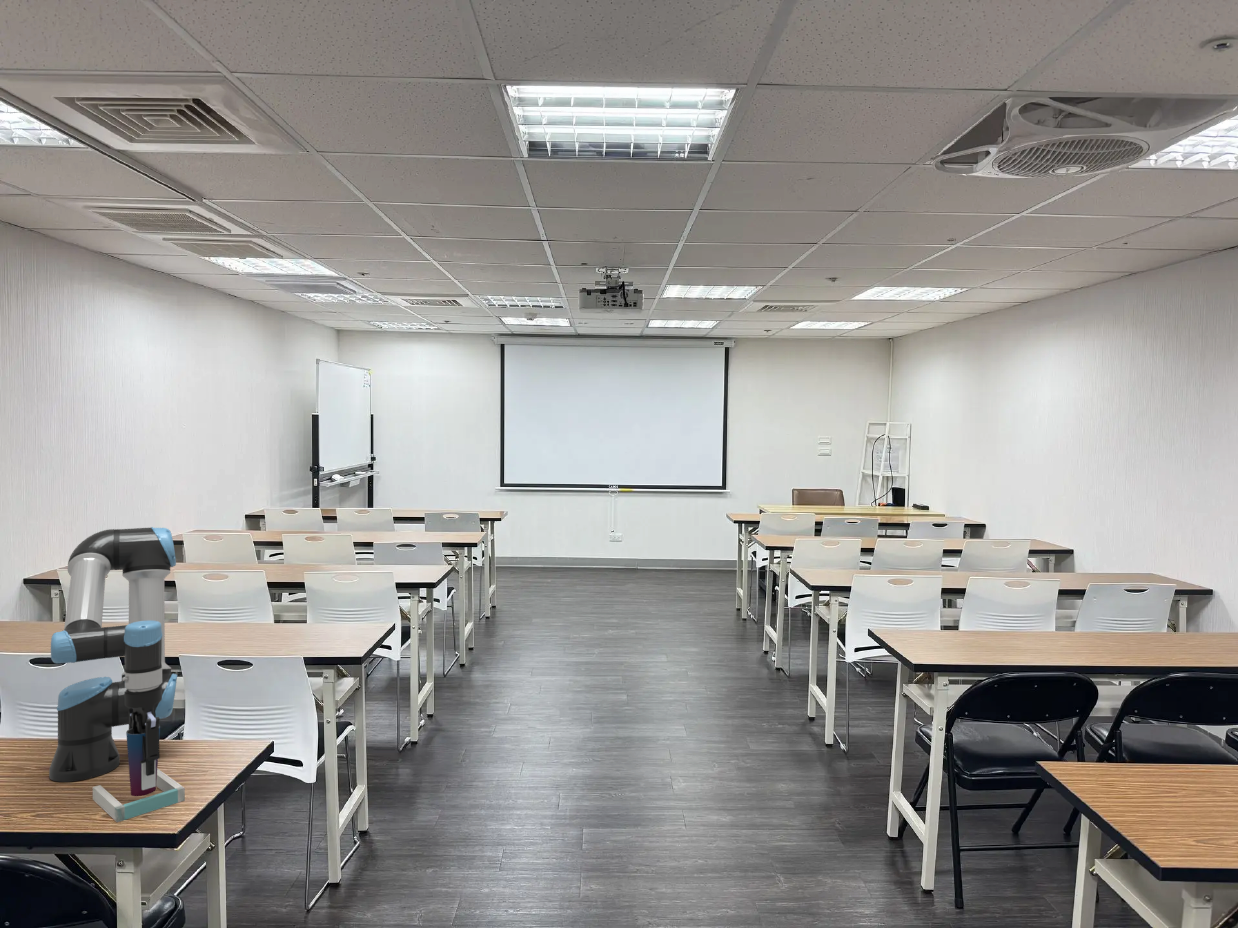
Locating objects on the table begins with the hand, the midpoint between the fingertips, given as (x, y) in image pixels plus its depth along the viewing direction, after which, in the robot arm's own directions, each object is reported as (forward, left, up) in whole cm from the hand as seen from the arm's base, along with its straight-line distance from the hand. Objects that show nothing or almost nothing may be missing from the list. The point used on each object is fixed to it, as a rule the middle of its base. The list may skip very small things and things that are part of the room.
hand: (143, 783), depth 174 cm
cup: (0, 0, -2) cm, 2 cm away
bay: (-3, 0, -5) cm, 6 cm away
